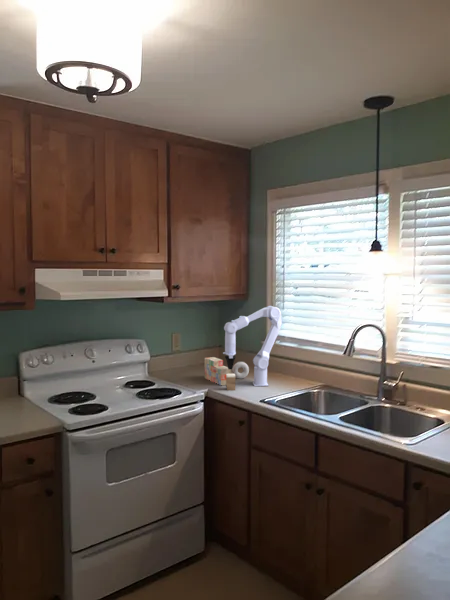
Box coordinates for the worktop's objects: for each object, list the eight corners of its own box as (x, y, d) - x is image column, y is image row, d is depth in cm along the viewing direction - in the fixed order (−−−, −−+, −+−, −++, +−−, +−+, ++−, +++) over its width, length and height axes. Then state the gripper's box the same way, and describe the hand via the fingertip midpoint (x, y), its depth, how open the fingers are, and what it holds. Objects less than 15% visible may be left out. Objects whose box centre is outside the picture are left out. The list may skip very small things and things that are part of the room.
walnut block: (226, 388, 274) (226, 373, 274) (234, 388, 274) (234, 373, 274) (226, 390, 270) (226, 375, 269) (235, 390, 270) (235, 375, 269)
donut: (232, 379, 295) (232, 362, 294) (231, 378, 298) (231, 361, 297) (249, 378, 297) (249, 361, 296) (248, 377, 300) (248, 360, 299)
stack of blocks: (230, 384, 282) (230, 362, 282) (220, 386, 280) (220, 363, 279) (213, 377, 301) (213, 356, 301) (204, 378, 299) (204, 357, 298)
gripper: (222, 342, 284) (222, 366, 285) (223, 346, 270) (223, 371, 271) (235, 342, 285) (235, 366, 286) (236, 346, 270) (236, 371, 271)
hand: (230, 369), depth 278 cm, fingers closed
